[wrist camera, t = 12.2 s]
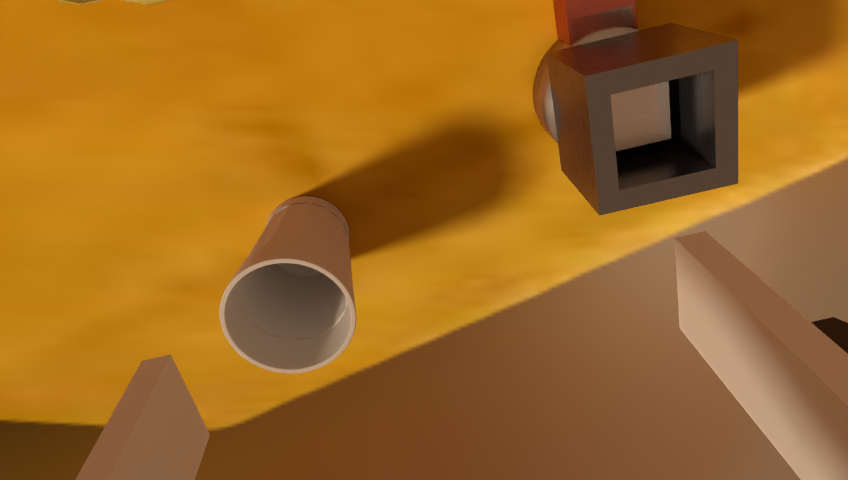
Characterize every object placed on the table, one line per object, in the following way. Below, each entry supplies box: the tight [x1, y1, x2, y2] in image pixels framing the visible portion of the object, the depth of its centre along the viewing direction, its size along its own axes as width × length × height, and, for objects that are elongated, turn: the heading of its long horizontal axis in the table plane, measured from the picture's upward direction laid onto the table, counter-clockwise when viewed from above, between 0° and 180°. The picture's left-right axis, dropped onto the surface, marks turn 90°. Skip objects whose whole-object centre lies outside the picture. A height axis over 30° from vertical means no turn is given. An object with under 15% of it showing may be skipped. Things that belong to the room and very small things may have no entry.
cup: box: [220, 196, 356, 373], centre depth 43 cm, size 8×8×12 cm
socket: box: [546, 23, 738, 215], centre depth 38 cm, size 8×8×8 cm
